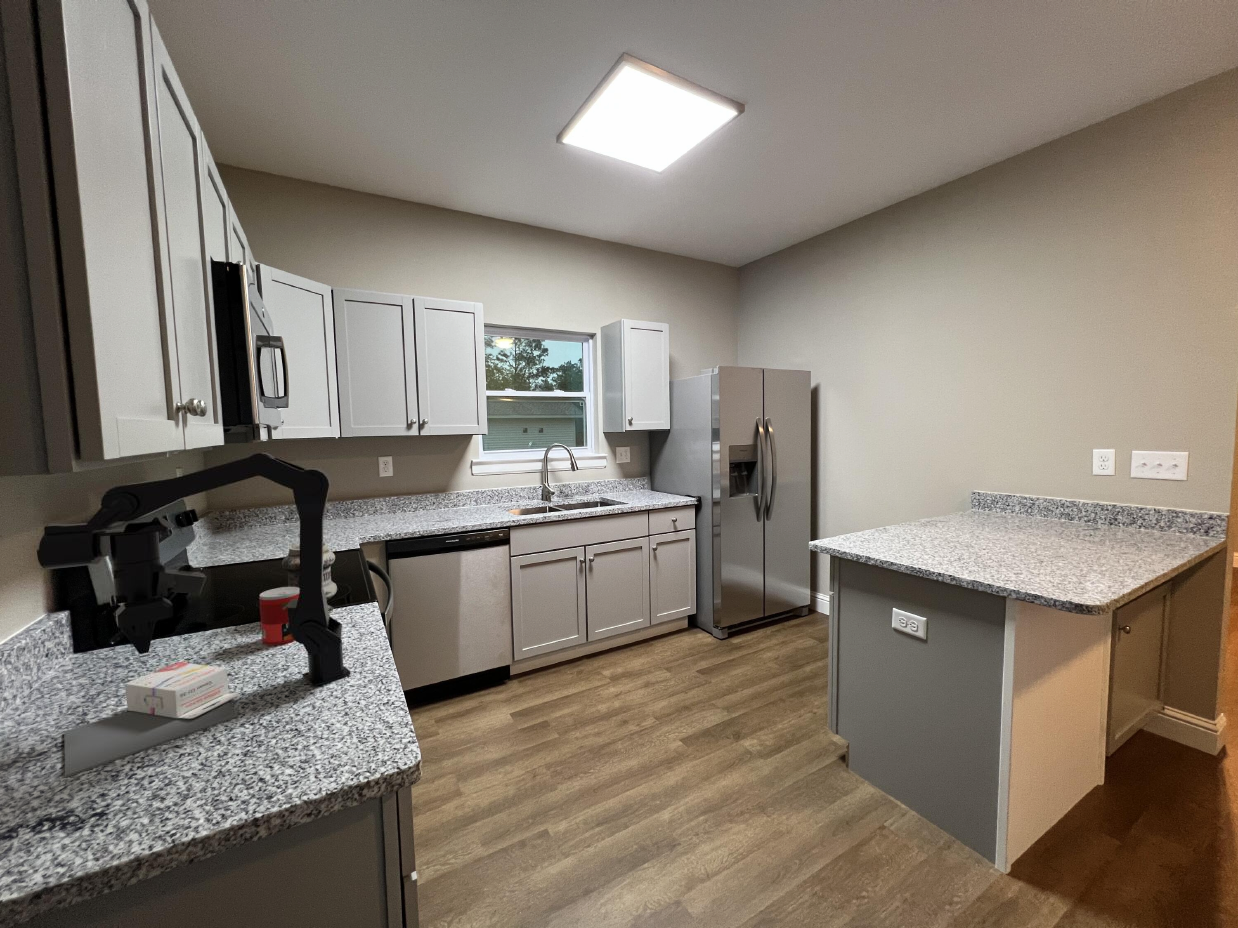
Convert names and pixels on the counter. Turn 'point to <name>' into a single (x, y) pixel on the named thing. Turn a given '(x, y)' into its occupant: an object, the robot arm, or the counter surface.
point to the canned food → (276, 615)
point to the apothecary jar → (293, 567)
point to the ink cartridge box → (179, 691)
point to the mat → (131, 735)
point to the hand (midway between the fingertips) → (144, 652)
